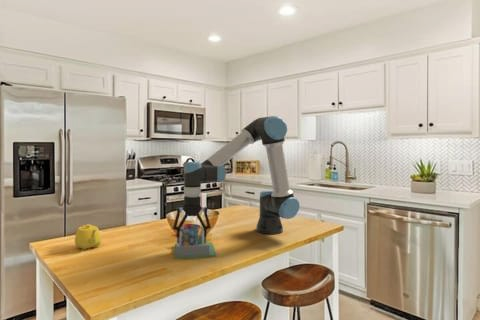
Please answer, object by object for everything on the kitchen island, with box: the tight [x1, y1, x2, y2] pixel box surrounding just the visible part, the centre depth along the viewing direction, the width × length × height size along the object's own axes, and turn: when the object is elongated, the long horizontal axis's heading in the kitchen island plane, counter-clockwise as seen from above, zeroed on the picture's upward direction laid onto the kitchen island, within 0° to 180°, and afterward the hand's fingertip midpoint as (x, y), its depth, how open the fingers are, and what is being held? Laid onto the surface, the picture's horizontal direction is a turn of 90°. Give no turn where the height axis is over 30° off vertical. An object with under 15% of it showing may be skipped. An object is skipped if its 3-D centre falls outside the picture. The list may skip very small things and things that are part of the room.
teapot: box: [74, 223, 102, 251], centre depth 153 cm, size 18×11×11 cm, turn 42°
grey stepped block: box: [174, 234, 217, 260], centre depth 149 cm, size 18×18×5 cm
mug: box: [180, 223, 204, 246], centre depth 149 cm, size 12×9×11 cm
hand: (191, 243), depth 149 cm, fingers open, 10 cm apart
